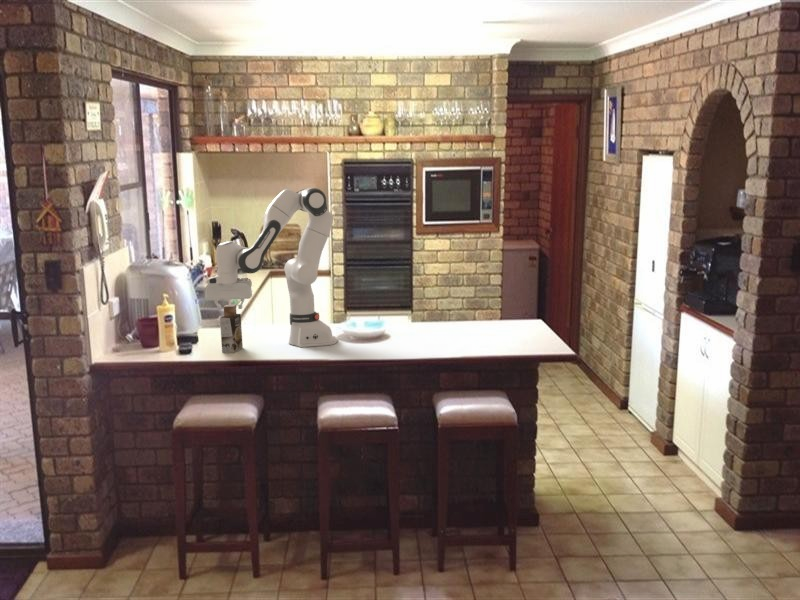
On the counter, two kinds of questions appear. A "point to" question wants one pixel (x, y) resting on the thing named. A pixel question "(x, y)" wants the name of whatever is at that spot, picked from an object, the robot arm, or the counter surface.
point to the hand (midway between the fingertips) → (229, 308)
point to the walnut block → (229, 310)
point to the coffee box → (231, 333)
